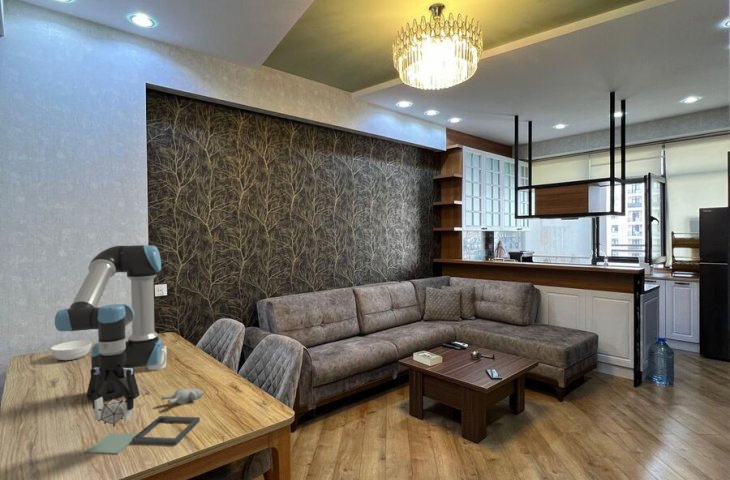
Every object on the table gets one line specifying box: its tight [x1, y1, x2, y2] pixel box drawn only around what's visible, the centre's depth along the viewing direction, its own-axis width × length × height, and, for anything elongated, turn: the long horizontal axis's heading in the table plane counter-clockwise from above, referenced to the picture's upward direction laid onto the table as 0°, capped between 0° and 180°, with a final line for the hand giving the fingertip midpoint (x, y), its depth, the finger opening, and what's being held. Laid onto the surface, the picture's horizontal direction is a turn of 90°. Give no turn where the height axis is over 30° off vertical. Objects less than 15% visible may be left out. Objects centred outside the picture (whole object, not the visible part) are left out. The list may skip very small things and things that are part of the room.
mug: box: [147, 345, 168, 372], centre depth 195 cm, size 11×9×10 cm
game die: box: [97, 397, 124, 428], centre depth 126 cm, size 9×8×10 cm
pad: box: [84, 432, 138, 455], centre depth 126 cm, size 11×11×1 cm
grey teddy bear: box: [161, 387, 204, 405], centre depth 157 cm, size 10×5×15 cm
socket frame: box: [131, 415, 201, 446], centre depth 134 cm, size 15×15×2 cm
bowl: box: [50, 339, 93, 361], centre depth 211 cm, size 18×18×7 cm
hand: (113, 418), depth 126 cm, fingers closed on game die, 9 cm apart
